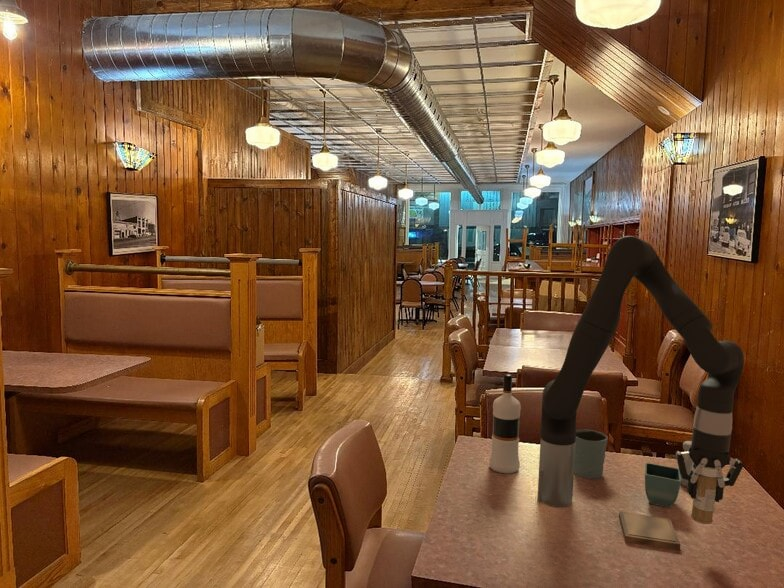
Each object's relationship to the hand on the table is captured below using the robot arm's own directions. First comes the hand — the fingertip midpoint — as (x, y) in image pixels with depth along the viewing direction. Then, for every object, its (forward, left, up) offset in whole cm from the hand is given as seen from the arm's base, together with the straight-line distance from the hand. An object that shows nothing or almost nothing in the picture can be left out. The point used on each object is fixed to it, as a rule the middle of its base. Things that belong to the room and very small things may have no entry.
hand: (704, 498), depth 128 cm
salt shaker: (+5, +37, -13) cm, 39 cm away
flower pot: (-5, +23, -13) cm, 26 cm away
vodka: (-48, +32, -13) cm, 58 cm away
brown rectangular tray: (-11, +5, -13) cm, 17 cm away
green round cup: (-23, +37, -13) cm, 45 cm away
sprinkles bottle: (0, 0, -6) cm, 6 cm away
